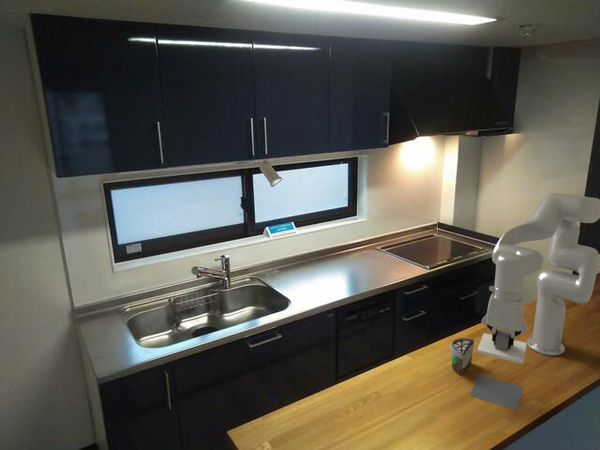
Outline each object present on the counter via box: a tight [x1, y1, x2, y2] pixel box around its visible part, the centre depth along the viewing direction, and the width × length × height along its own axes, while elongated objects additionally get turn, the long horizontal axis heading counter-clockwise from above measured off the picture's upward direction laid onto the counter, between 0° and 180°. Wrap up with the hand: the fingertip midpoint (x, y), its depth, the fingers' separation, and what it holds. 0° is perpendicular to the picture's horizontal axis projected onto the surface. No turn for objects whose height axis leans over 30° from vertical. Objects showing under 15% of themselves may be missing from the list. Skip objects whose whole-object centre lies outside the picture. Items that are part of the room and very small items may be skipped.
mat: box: [470, 374, 523, 411], centre depth 140 cm, size 13×14×1 cm
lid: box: [476, 328, 528, 365], centre depth 135 cm, size 11×13×6 cm
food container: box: [449, 337, 475, 377], centre depth 152 cm, size 12×6×10 cm, turn 141°
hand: (502, 344), depth 135 cm, fingers closed on lid, 3 cm apart
